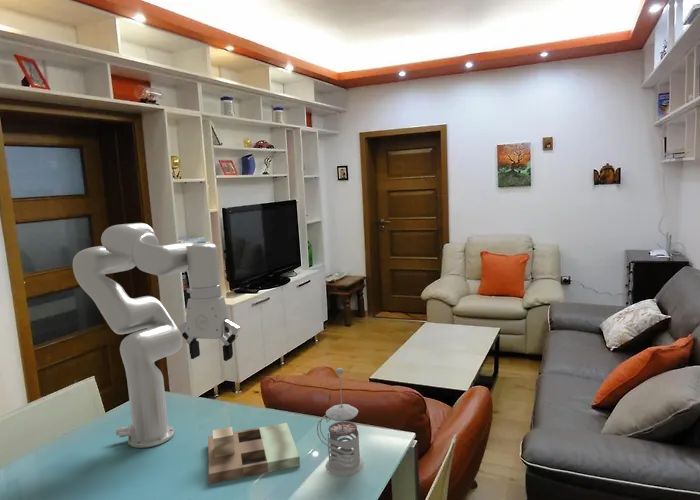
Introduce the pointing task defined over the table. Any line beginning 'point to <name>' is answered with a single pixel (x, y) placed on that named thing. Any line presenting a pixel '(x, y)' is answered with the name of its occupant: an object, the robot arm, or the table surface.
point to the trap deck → (254, 453)
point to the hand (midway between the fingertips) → (211, 358)
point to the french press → (345, 457)
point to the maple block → (223, 442)
